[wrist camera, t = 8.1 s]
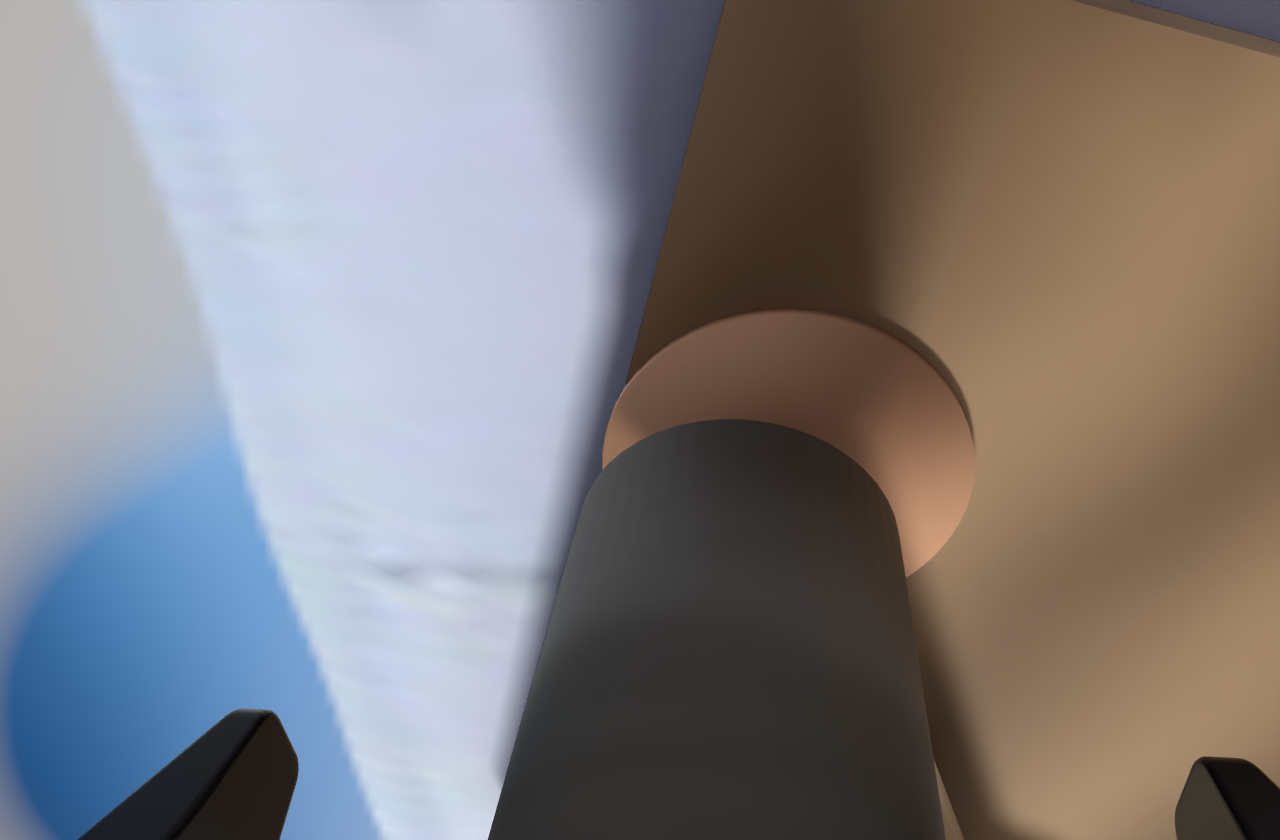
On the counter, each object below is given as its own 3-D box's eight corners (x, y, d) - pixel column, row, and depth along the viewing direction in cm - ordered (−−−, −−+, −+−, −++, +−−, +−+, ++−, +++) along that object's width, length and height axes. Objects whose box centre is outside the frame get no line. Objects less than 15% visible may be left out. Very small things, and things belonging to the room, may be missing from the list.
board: (1975, 234, 11) (2149, 298, 9) (1108, 975, 22) (1129, 1054, 21) (743, -106, 11) (737, -90, 9) (507, 825, 22) (488, 894, 21)
